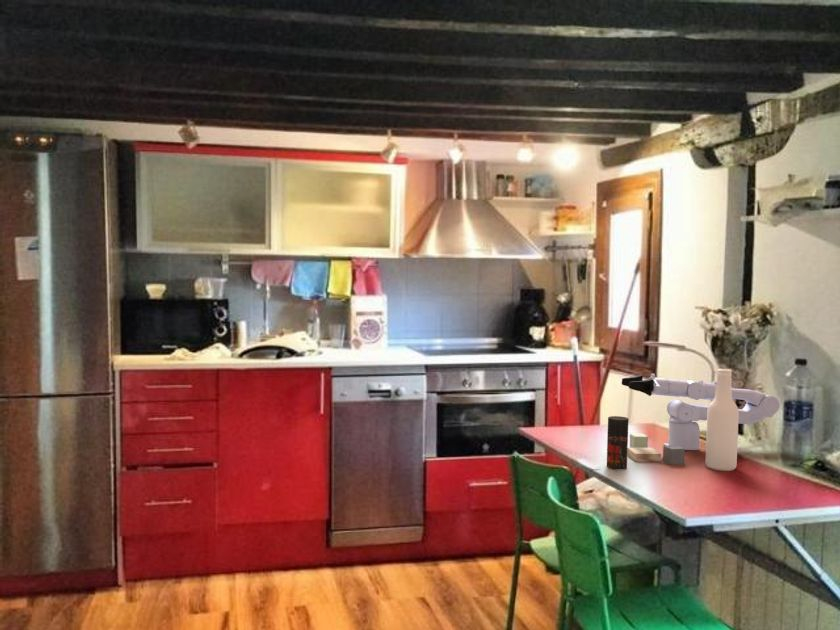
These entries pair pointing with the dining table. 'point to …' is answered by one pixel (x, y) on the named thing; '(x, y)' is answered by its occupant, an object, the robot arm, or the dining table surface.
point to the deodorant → (617, 442)
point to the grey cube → (673, 454)
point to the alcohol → (722, 426)
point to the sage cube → (638, 441)
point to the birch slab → (644, 454)
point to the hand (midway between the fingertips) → (625, 383)
